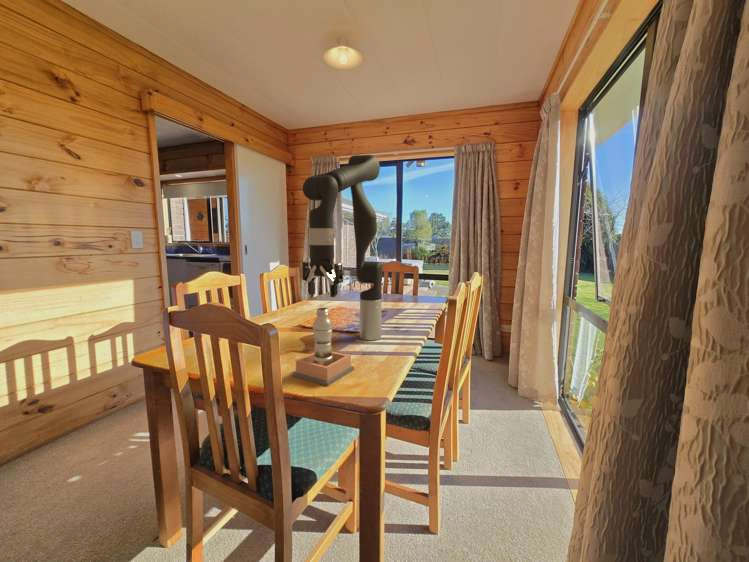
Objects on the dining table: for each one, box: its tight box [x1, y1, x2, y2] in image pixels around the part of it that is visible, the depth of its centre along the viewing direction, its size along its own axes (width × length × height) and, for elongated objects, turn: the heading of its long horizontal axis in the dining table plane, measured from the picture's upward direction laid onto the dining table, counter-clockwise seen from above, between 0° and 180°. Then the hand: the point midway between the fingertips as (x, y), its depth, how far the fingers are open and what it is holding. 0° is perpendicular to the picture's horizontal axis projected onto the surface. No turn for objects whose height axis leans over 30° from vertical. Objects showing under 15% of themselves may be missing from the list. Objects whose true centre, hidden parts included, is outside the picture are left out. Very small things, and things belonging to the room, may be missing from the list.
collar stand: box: [292, 351, 355, 387], centre depth 107 cm, size 14×14×5 cm
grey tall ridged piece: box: [312, 307, 334, 366], centre depth 106 cm, size 6×7×20 cm
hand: (322, 295), depth 104 cm, fingers open, 8 cm apart
